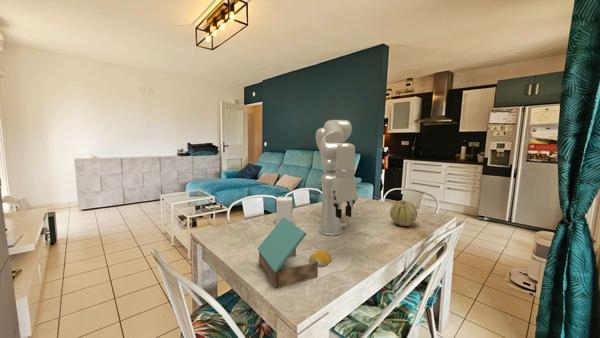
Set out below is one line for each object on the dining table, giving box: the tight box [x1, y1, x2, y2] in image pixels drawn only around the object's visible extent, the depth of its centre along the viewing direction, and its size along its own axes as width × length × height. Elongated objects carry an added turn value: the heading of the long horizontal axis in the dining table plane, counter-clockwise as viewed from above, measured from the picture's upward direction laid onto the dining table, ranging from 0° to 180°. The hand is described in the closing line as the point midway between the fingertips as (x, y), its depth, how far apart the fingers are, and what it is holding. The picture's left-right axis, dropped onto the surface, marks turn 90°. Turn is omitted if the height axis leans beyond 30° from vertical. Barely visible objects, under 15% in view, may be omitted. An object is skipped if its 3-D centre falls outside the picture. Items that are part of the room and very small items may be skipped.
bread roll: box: [308, 250, 332, 267], centre depth 100 cm, size 8×9×4 cm
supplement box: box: [275, 196, 293, 225], centre depth 143 cm, size 9×9×15 cm
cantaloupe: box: [389, 199, 418, 227], centre depth 142 cm, size 15×15×15 cm
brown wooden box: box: [258, 247, 319, 289], centre depth 93 cm, size 16×19×6 cm
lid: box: [257, 217, 307, 273], centre depth 90 cm, size 16×19×1 cm
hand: (343, 216), depth 103 cm, fingers open, 4 cm apart
